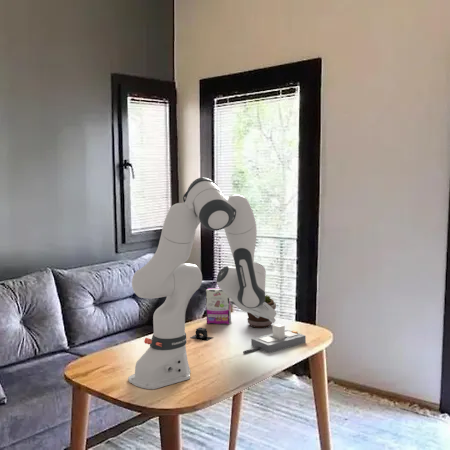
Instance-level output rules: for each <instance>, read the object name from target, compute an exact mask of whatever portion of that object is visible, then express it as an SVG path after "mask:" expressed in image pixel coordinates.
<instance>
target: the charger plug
mask: <svg viewBox="0 0 450 450" xmlns="http://www.w3.org/2000/svg"><path fill="white" fill-rule="evenodd" d="M285 328H286V327H285V325H283V324H280V323H275V324H272V333H273V338H275V339H277V340H281V339H285V330H286V329H285Z"/></svg>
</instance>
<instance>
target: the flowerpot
mask: <svg viewBox="0 0 450 450" xmlns="http://www.w3.org/2000/svg"><path fill="white" fill-rule="evenodd" d="M274 301H275V300H274V299H273V298H271V296H270V295H268V294H265V302H266V303H267V304H268V305H270V306H271V307H272V308H273V309H274V310H275V311H276V309H277V304H276V302H274ZM246 313H247V317H248V318H247V319H246V320H247V323H248V325H249V326H250V327H252V328H257V329H266V327H267V328H269V327H271V326H272V325H273V323H272V322H270V321H269V319H267V318H264V317H259V318H257V317H255V316H254V315H253V314H251V313H248V312H246ZM264 327H265V328H264Z"/></svg>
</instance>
